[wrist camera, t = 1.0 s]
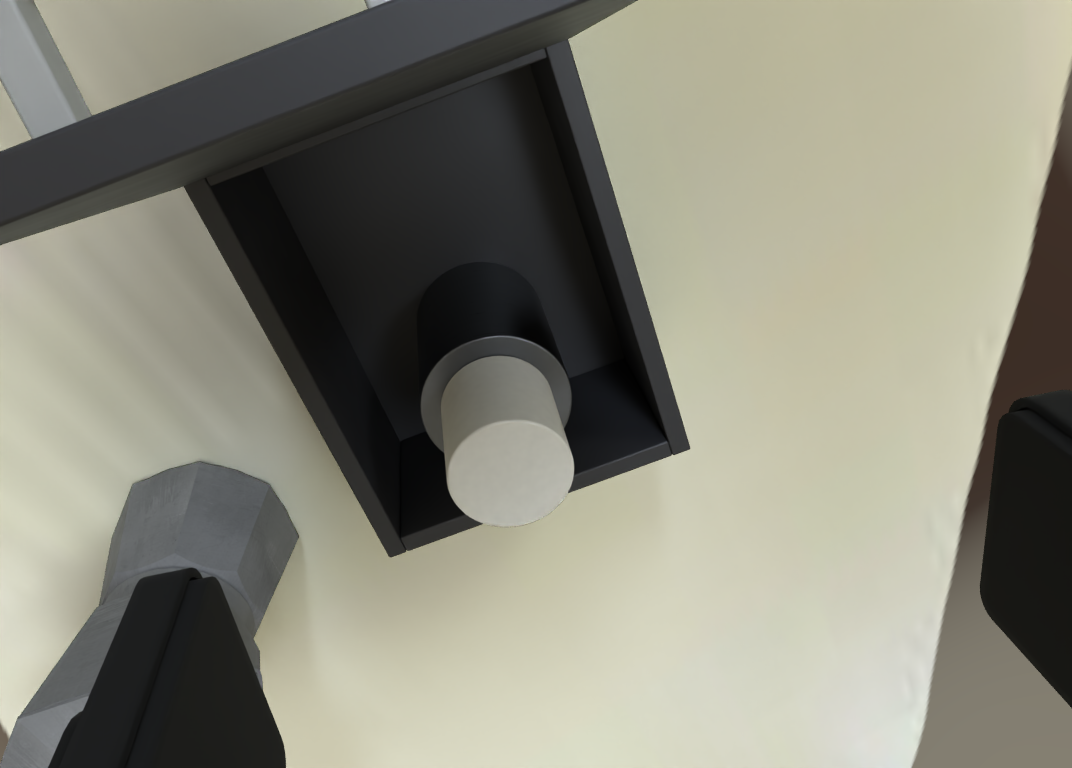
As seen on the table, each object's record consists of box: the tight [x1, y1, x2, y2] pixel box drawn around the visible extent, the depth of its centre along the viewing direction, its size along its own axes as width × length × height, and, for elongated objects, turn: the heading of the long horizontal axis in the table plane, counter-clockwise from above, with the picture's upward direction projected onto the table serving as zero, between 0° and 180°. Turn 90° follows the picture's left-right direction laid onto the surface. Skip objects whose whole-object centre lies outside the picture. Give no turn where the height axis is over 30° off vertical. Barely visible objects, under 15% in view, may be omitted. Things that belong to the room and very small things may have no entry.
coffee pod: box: [441, 356, 574, 527], centre depth 32 cm, size 4×4×5 cm
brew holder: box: [417, 262, 572, 453], centre depth 38 cm, size 6×6×9 cm
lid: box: [0, 0, 637, 245], centre depth 19 cm, size 18×14×5 cm
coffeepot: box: [0, 462, 299, 768], centre depth 38 cm, size 15×9×18 cm, turn 130°
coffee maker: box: [184, 39, 690, 557], centre depth 36 cm, size 18×14×9 cm
